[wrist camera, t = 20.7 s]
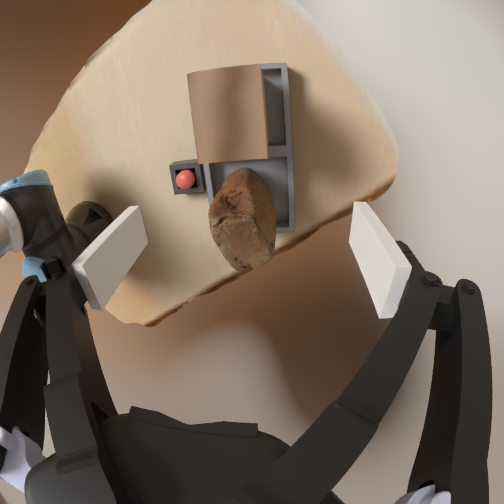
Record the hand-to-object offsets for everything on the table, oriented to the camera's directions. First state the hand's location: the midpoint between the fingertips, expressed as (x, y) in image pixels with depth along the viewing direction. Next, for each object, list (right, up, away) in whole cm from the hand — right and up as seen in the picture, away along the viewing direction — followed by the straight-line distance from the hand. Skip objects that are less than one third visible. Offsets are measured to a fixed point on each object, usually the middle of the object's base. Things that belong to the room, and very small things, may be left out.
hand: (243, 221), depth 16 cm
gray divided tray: (0, +18, +33) cm, 37 cm away
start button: (-12, +13, +35) cm, 40 cm away
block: (0, +10, +37) cm, 38 cm away
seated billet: (-1, +24, +28) cm, 37 cm away
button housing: (-12, +14, +36) cm, 40 cm away
